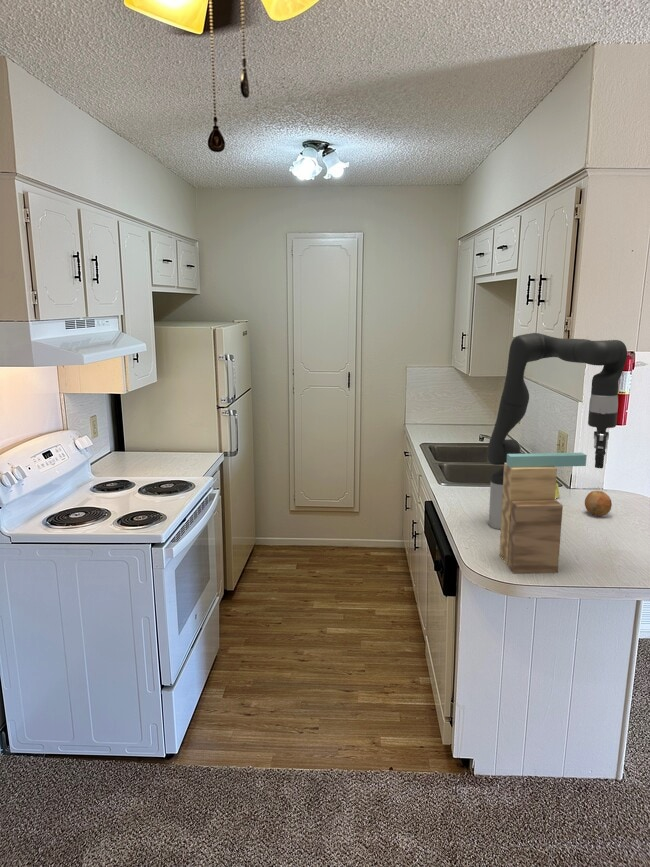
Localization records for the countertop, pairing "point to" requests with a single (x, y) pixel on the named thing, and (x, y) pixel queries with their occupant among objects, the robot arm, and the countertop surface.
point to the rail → (546, 460)
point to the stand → (523, 494)
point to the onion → (598, 503)
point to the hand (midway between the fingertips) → (598, 464)
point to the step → (535, 536)
